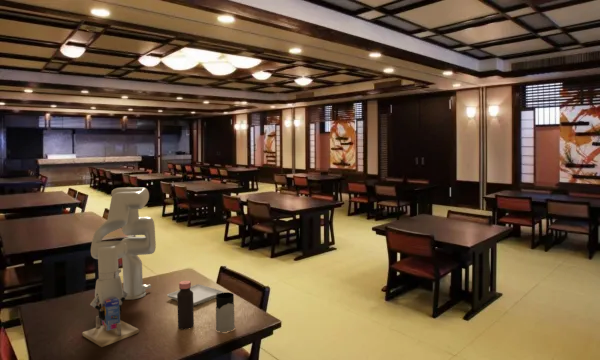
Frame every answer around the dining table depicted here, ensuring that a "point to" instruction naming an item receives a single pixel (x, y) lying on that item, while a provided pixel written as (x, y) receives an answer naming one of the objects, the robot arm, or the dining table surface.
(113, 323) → the ink cartridge box
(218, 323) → the glass holder
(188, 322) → the bottle
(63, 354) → the dining table surface
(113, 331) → the pin board
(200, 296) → the salad plate
